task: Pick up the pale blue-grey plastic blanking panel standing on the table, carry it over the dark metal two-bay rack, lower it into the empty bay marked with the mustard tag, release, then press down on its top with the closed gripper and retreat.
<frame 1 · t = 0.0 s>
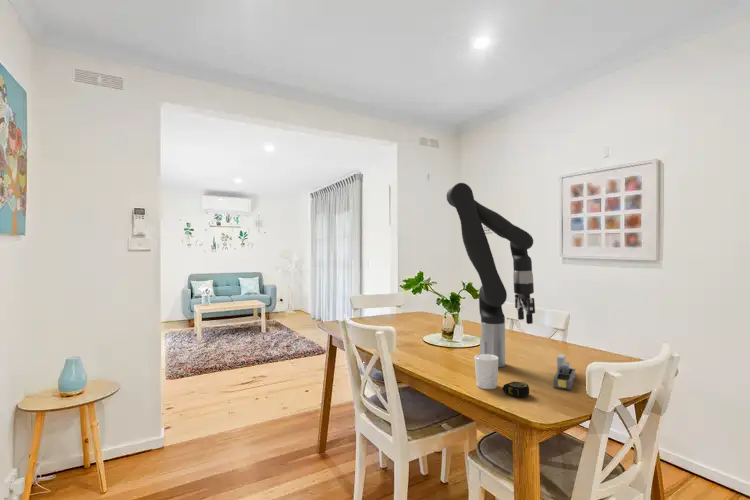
hand: (525, 321, 156), 17 cm above the table, tool pointing down, fingers open, 8 cm apart
tape measure: (515, 395, 123), on the table
rack: (564, 382, 134), on the table
white cup: (486, 386, 131), on the table
panel: (561, 371, 145), on the table
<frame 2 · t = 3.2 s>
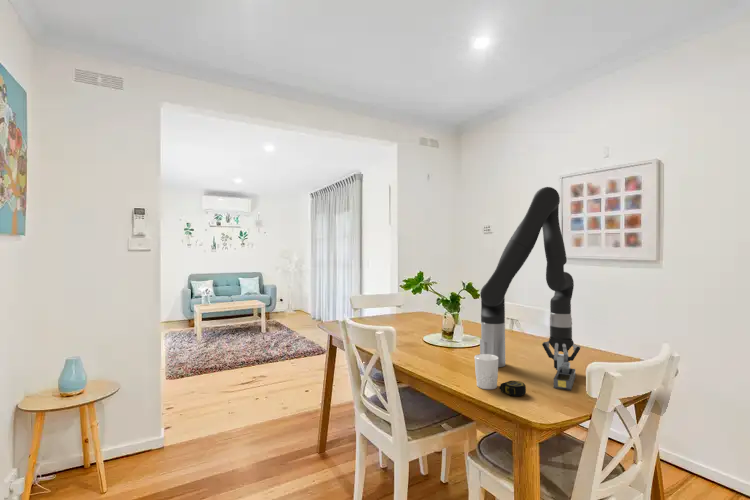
hand: (561, 370, 145), 1 cm above the table, tool pointing down, fingers closed on panel, 2 cm apart
tape measure: (512, 394, 124), on the table
panel: (561, 371, 145), on the table, touching gripper
everything else where it was.
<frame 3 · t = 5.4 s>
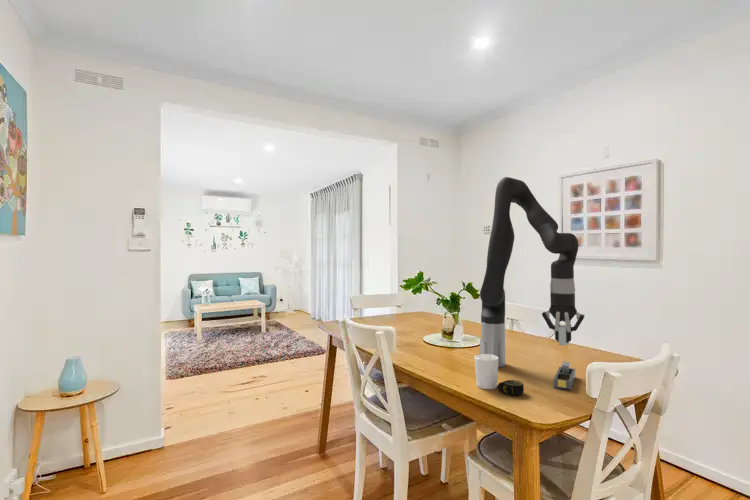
hand: (563, 341, 130), 15 cm above the table, tool pointing down, fingers closed on panel
panel: (563, 343, 131), point 14 cm above the table, touching gripper
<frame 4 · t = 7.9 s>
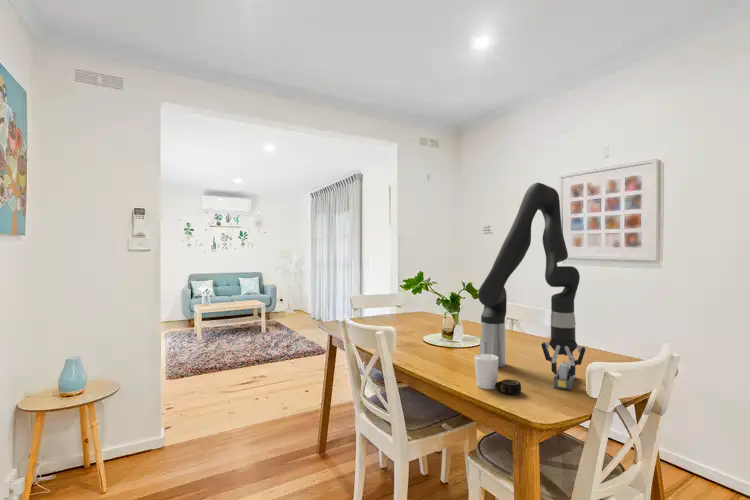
hand: (563, 374, 130), 4 cm above the table, tool pointing down, fingers open, 4 cm apart
panel: (563, 383, 131), point 1 cm above the table, touching rack
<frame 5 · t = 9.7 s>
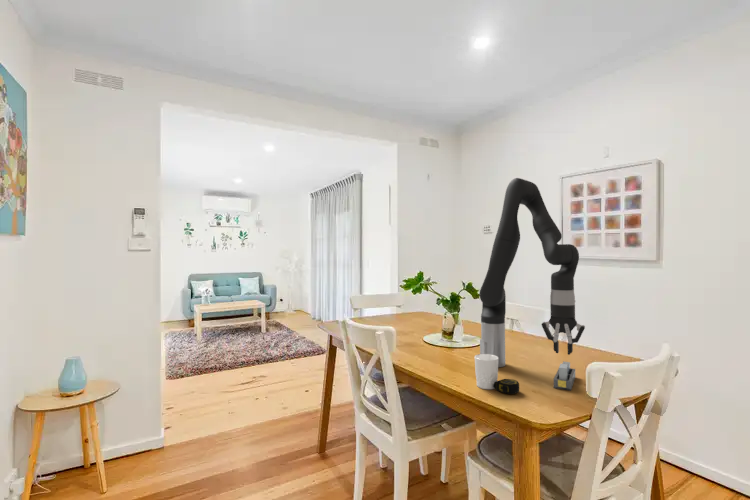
hand: (563, 353, 130), 11 cm above the table, tool pointing down, fingers open, 3 cm apart
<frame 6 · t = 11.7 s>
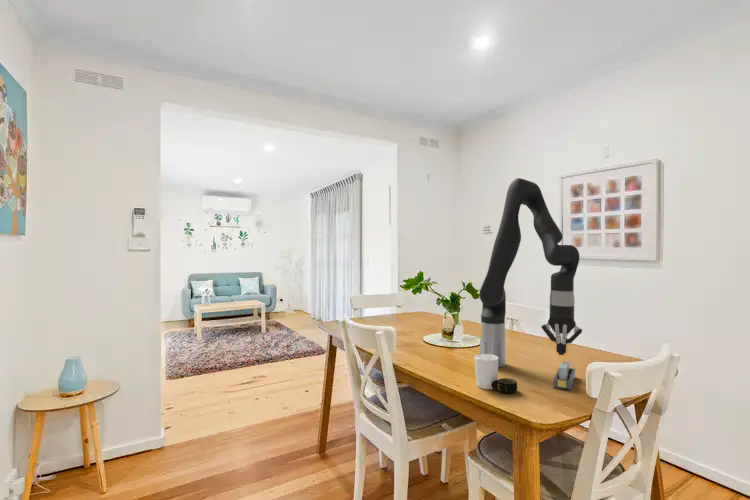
hand: (561, 354, 130), 11 cm above the table, tool pointing down, fingers closed
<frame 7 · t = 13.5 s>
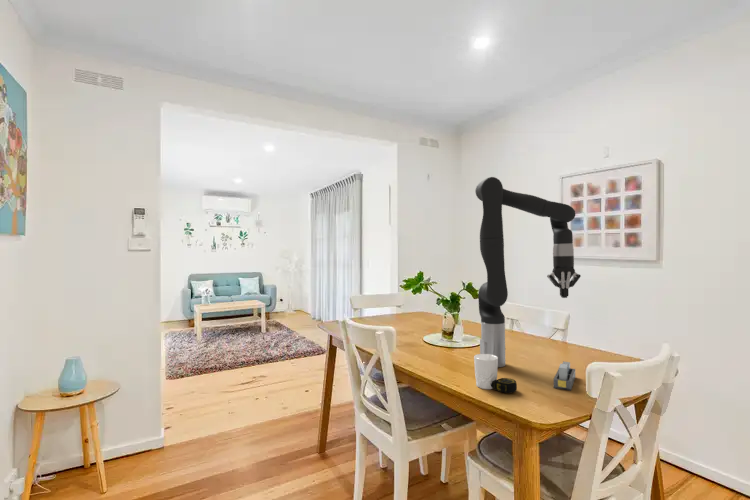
hand: (564, 297, 155), 27 cm above the table, tool pointing down, fingers closed
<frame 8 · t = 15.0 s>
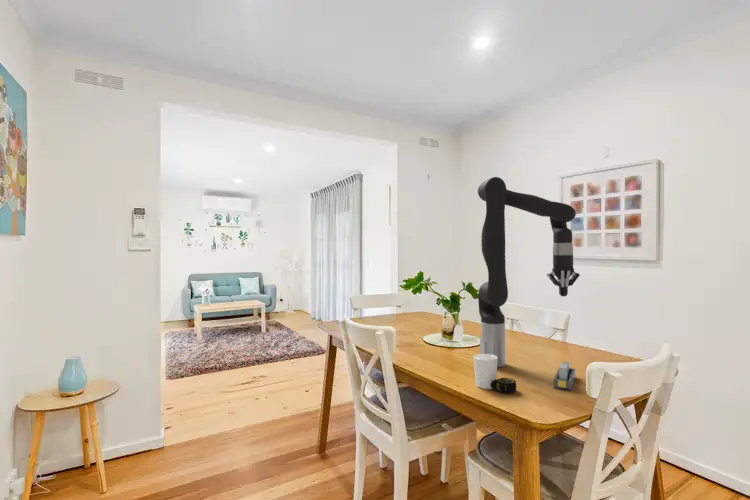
hand: (563, 296, 158), 27 cm above the table, tool pointing down, fingers closed
at the end: panel 0.0 cm from the target spot on the rack, point 0.7 cm above the rack's base; panel point 0.7 cm above the table; the gripper is holding nothing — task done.
